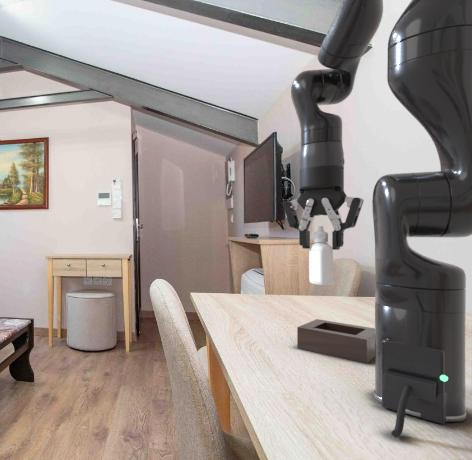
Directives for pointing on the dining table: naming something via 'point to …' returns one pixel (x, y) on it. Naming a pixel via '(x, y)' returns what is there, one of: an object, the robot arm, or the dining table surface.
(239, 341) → the dining table surface
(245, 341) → the dining table surface
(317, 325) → the holder
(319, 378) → the dining table surface
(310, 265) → the eye dropper bottle
